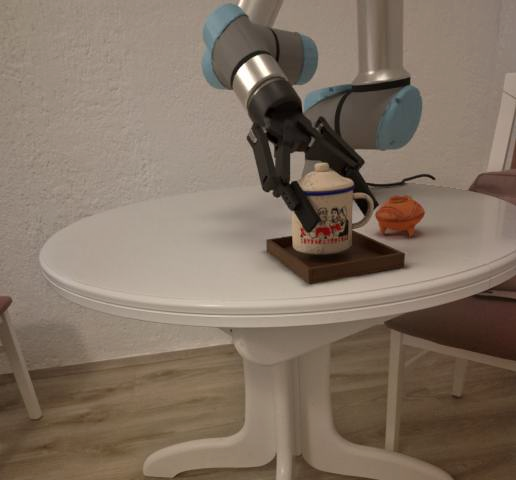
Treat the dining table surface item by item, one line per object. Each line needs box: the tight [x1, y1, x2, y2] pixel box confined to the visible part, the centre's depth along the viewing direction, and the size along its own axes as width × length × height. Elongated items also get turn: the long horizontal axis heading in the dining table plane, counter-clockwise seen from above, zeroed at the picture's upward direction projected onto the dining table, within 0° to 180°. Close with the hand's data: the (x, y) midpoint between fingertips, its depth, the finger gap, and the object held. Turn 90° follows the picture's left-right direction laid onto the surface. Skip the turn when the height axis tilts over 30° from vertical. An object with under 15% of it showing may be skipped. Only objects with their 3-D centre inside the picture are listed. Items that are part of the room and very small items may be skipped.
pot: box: [374, 194, 426, 238], centre depth 80 cm, size 8×8×7 cm
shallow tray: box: [265, 229, 406, 285], centre depth 71 cm, size 14×17×2 cm
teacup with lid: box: [291, 163, 375, 255], centre depth 68 cm, size 12×9×12 cm
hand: (344, 218), depth 67 cm, fingers closed on teacup with lid, 11 cm apart
